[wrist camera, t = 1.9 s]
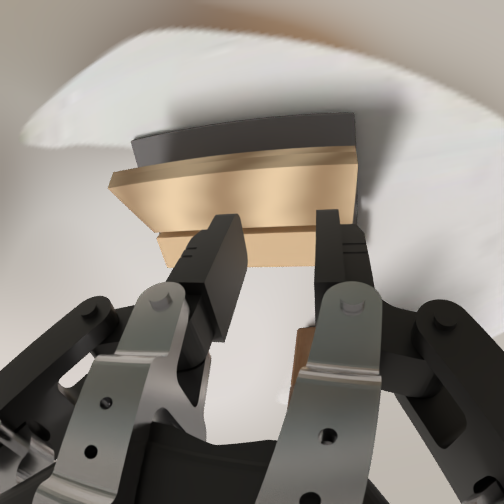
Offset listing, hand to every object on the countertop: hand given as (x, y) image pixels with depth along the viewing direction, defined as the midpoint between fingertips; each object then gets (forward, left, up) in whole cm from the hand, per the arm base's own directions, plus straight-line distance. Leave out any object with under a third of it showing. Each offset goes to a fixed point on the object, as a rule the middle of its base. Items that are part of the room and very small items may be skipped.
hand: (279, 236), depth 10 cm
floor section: (+5, +4, -13) cm, 14 cm away
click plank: (+4, +3, -11) cm, 12 cm away
